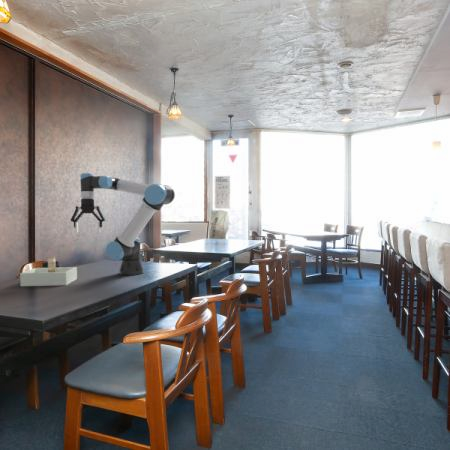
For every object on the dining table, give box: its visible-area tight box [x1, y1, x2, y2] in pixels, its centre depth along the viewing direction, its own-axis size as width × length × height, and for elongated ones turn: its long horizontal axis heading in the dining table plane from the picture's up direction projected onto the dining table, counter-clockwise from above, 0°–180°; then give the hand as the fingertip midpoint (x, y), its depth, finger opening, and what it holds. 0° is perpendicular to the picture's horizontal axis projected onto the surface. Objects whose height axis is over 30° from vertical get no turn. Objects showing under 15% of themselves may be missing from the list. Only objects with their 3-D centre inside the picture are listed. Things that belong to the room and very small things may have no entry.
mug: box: [41, 261, 61, 268], centre depth 226 cm, size 9×12×9 cm
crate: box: [19, 266, 78, 287], centre depth 209 cm, size 24×18×7 cm
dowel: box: [47, 256, 56, 272], centre depth 212 cm, size 4×4×14 cm
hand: (88, 232), depth 229 cm, fingers open, 13 cm apart
